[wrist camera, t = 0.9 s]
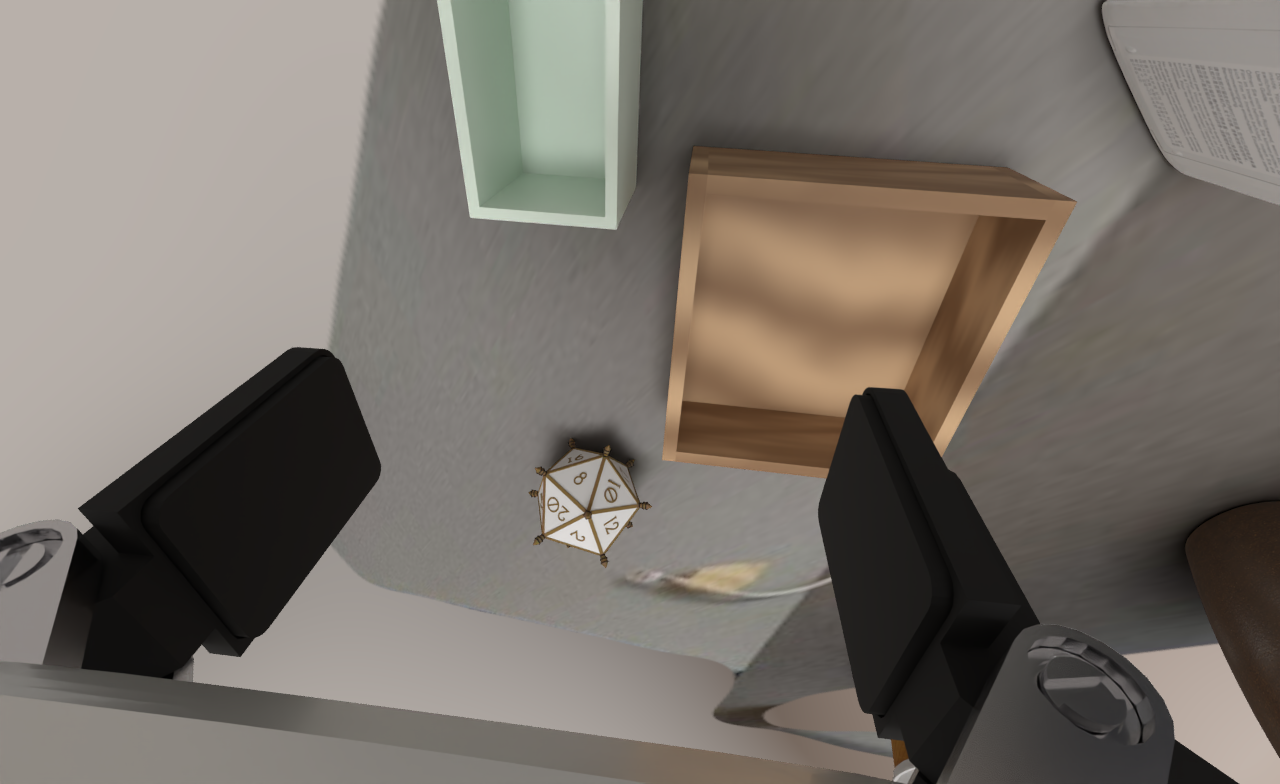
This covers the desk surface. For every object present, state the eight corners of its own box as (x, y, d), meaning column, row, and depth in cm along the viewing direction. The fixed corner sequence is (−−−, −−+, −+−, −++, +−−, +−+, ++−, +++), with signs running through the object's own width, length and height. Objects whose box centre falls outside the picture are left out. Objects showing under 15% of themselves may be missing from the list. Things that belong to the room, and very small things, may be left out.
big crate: (693, 145, 26) (688, 173, 22) (1008, 167, 25) (1077, 201, 21) (669, 401, 36) (662, 459, 31) (895, 425, 35) (924, 489, 30)
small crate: (496, -60, 23) (424, -87, 17) (644, -54, 22) (621, -80, 16) (518, 179, 28) (470, 217, 23) (635, 187, 28) (616, 229, 22)
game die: (587, 440, 44) (490, 513, 39) (608, 392, 37) (493, 474, 32) (657, 518, 43) (566, 605, 37) (694, 483, 36) (587, 586, 30)
